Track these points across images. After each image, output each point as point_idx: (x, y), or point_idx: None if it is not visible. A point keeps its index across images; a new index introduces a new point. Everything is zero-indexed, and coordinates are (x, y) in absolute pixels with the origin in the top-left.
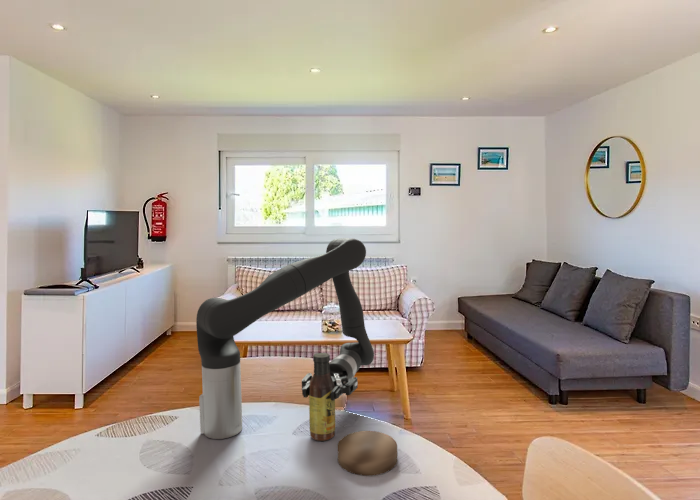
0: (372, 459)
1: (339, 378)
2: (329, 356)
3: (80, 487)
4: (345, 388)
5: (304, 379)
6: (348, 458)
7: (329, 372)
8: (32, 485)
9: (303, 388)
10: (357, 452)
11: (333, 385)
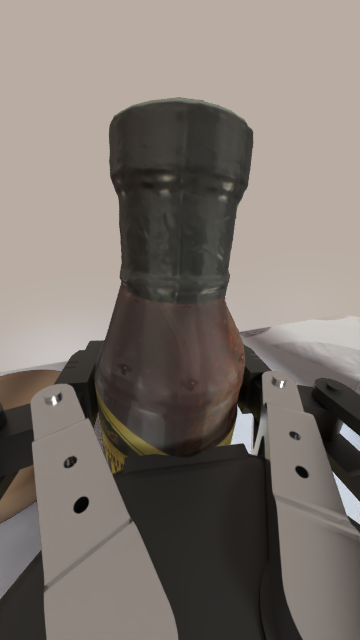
0: (6, 377)
1: (47, 475)
2: (109, 138)
3: (318, 323)
4: (11, 413)
5: (352, 399)
6: (60, 372)
7: (122, 285)
8: (346, 319)
9: (247, 350)
10: (36, 386)
11: (99, 356)
